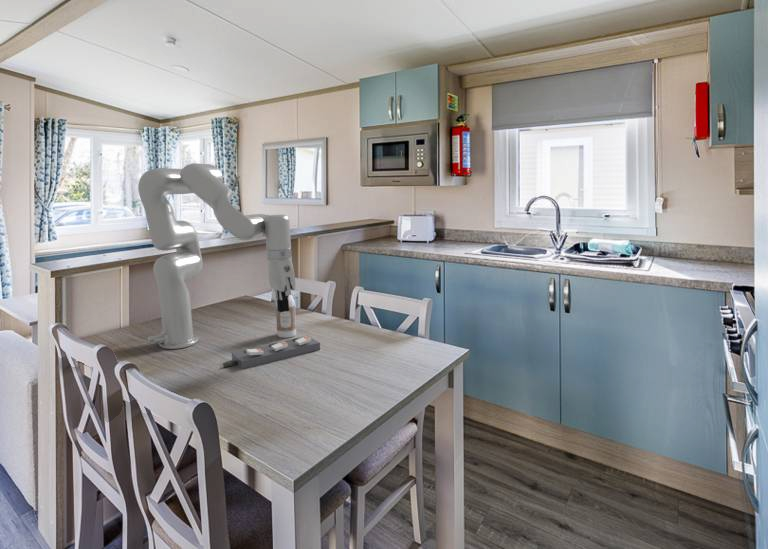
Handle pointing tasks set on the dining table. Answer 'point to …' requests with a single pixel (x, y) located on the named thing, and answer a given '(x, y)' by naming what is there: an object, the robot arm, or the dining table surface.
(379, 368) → the dining table surface
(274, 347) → the rocker middle
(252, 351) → the rocker left
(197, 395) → the dining table surface
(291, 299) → the bath foam
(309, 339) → the rocker right
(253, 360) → the power strip
